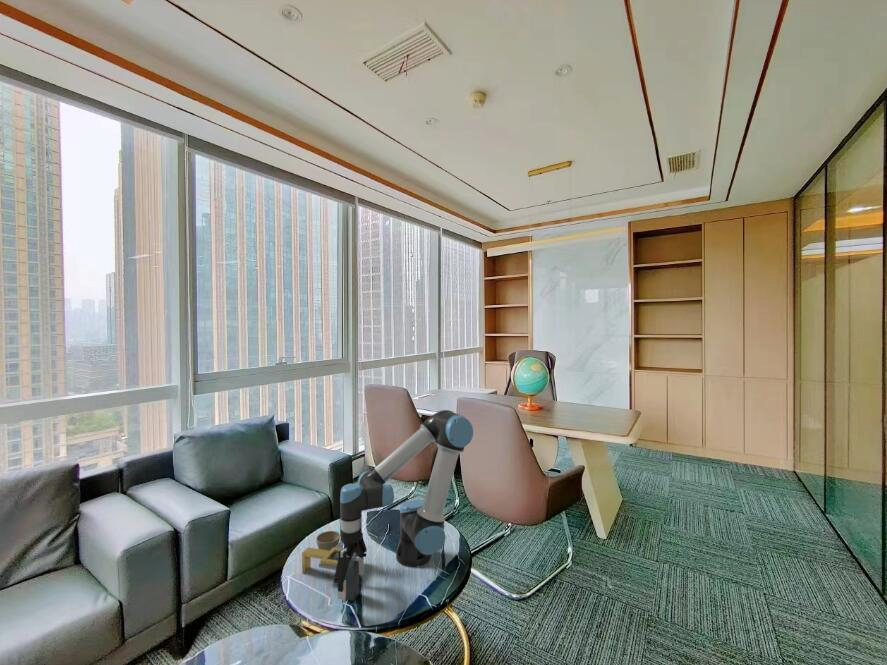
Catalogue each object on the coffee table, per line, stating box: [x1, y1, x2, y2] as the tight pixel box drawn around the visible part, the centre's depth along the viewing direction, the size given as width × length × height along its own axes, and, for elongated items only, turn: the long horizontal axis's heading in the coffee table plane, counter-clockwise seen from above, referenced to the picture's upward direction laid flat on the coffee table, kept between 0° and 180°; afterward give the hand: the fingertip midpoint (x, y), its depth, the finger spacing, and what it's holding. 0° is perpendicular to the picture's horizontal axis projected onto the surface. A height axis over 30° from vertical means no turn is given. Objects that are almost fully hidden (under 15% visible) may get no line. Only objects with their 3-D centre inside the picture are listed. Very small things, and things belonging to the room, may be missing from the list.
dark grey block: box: [345, 560, 360, 602], centre depth 140 cm, size 4×4×12 cm
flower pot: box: [315, 530, 341, 551], centre depth 167 cm, size 10×10×7 cm
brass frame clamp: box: [301, 541, 357, 575], centre depth 155 cm, size 20×16×22 cm
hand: (351, 586), depth 140 cm, fingers open, 13 cm apart
